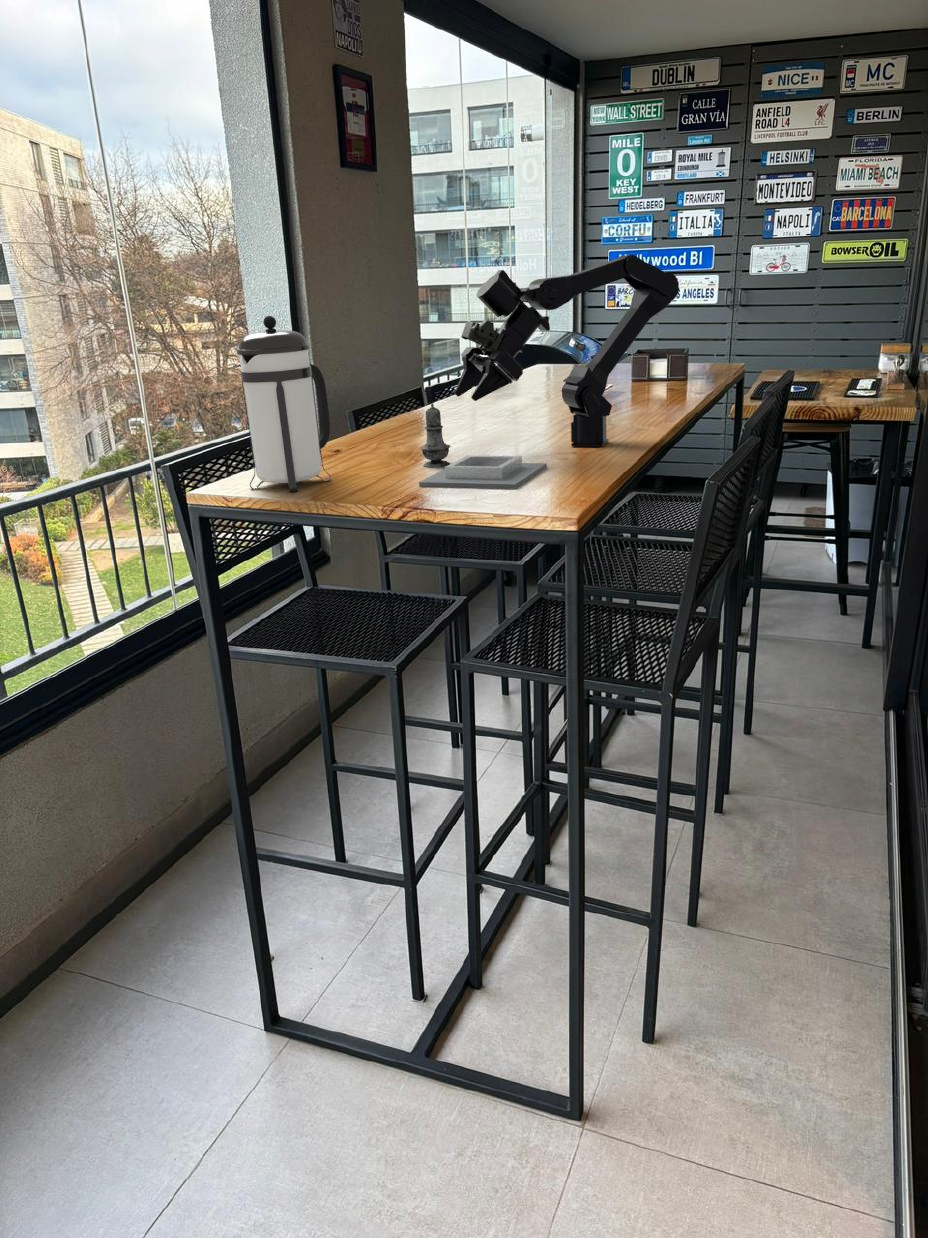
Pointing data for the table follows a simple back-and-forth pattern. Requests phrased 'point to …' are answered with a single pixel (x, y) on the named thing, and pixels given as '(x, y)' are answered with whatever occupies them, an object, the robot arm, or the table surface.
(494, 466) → the socket collar
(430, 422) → the salt shaker
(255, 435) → the coffee press
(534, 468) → the socket board
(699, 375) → the table surface
